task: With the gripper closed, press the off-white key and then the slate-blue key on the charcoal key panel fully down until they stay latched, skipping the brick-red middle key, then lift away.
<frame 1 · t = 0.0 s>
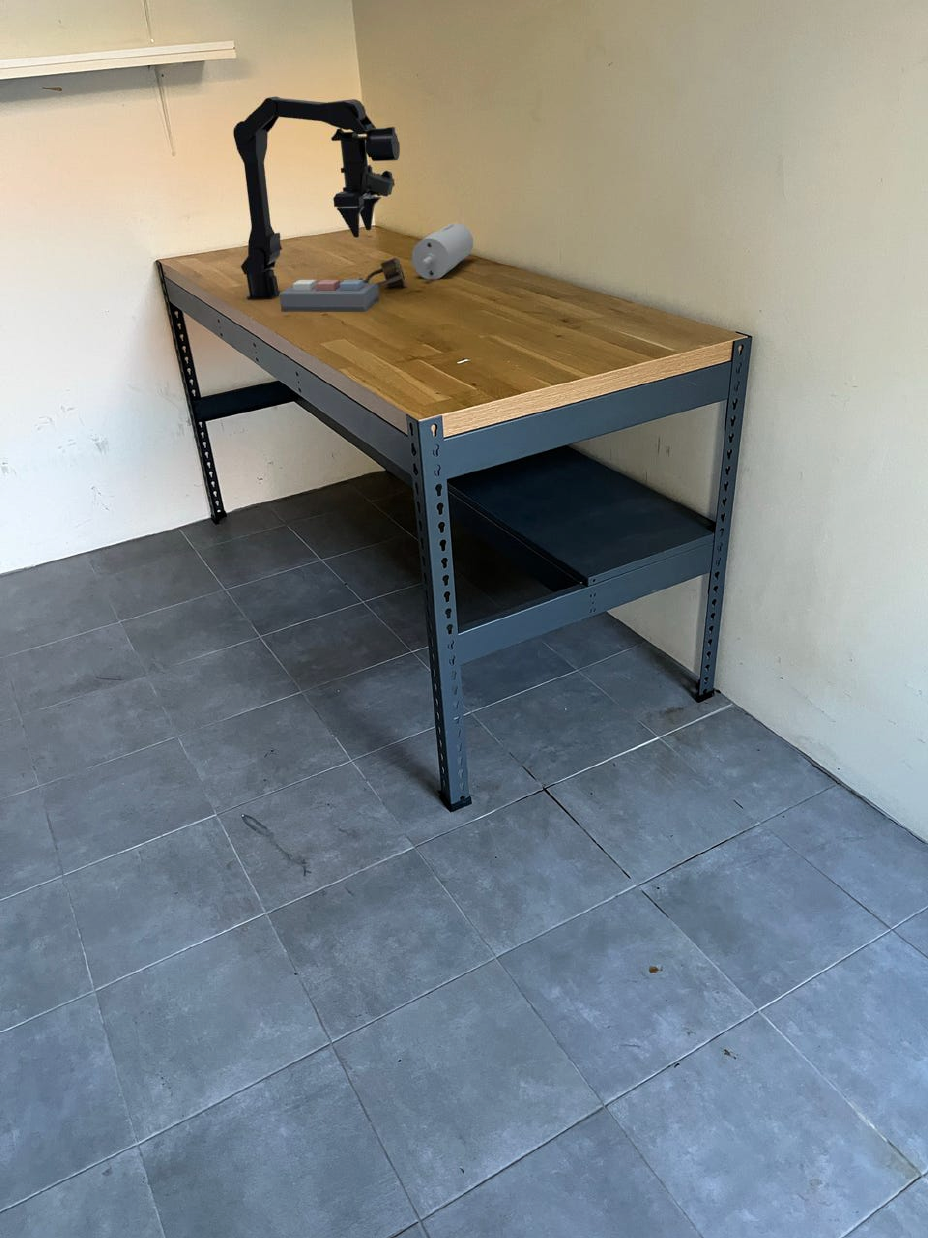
hand: (362, 233, 224), 15 cm above the table, fingers open, 9 cm apart
blue key: (352, 288, 223), point 4 cm above the table, slide at 0.0 cm
red key: (328, 288, 224), point 4 cm above the table, slide at 0.0 cm
white key: (305, 288, 225), point 4 cm above the table, slide at 0.0 cm
motor: (444, 271, 254), on the table
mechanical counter: (383, 288, 240), on the table
key panel: (330, 305, 226), on the table
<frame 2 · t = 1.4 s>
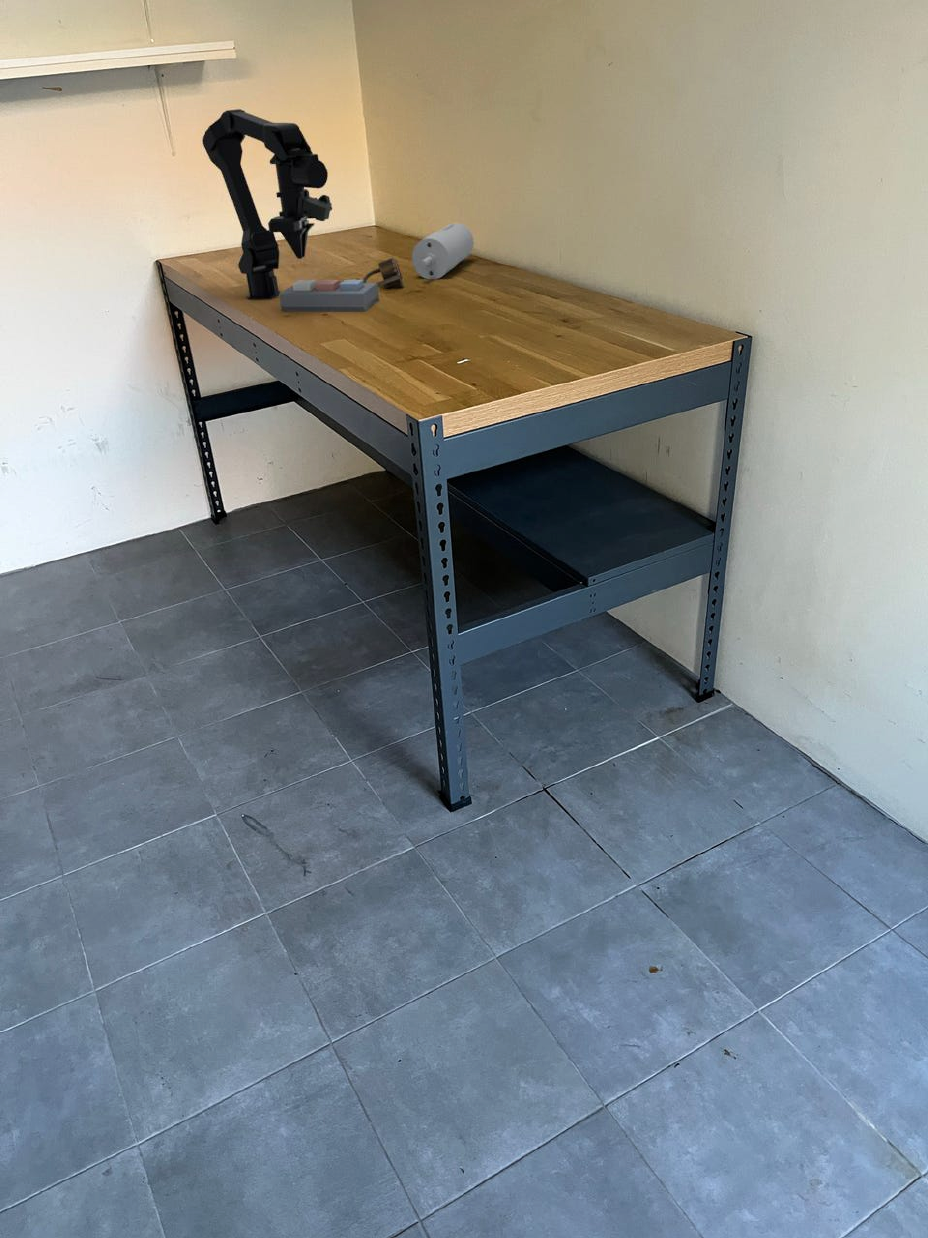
hand: (301, 257, 222), 11 cm above the table, fingers closed
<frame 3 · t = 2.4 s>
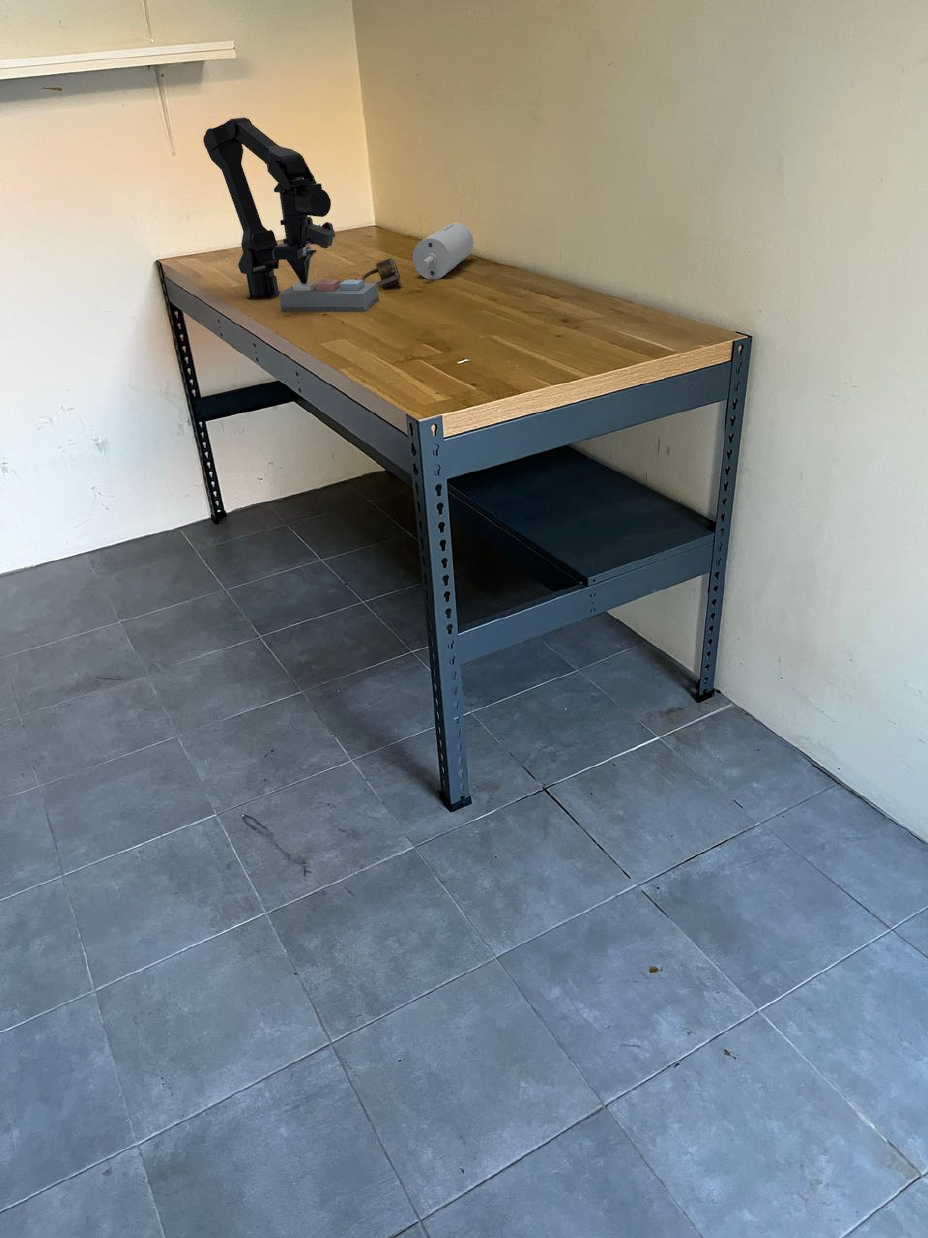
hand: (304, 283, 225), 5 cm above the table, fingers closed, pressing on white key
white key: (305, 289, 226), point 4 cm above the table, slide at 0.4 cm, touching gripper
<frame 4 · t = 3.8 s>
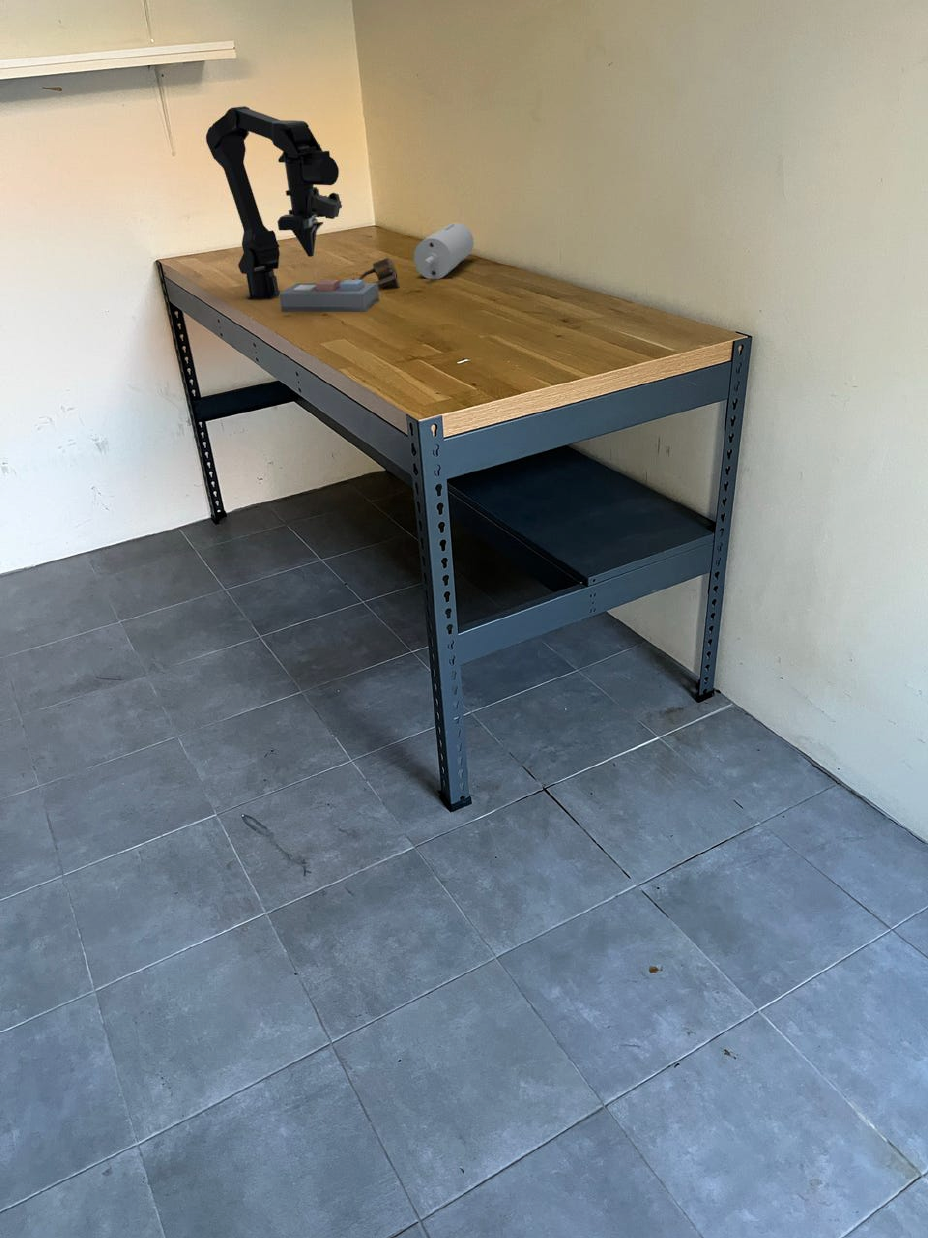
hand: (310, 256, 221), 11 cm above the table, fingers closed
white key: (306, 293, 226), point 3 cm above the table, slide at 1.2 cm
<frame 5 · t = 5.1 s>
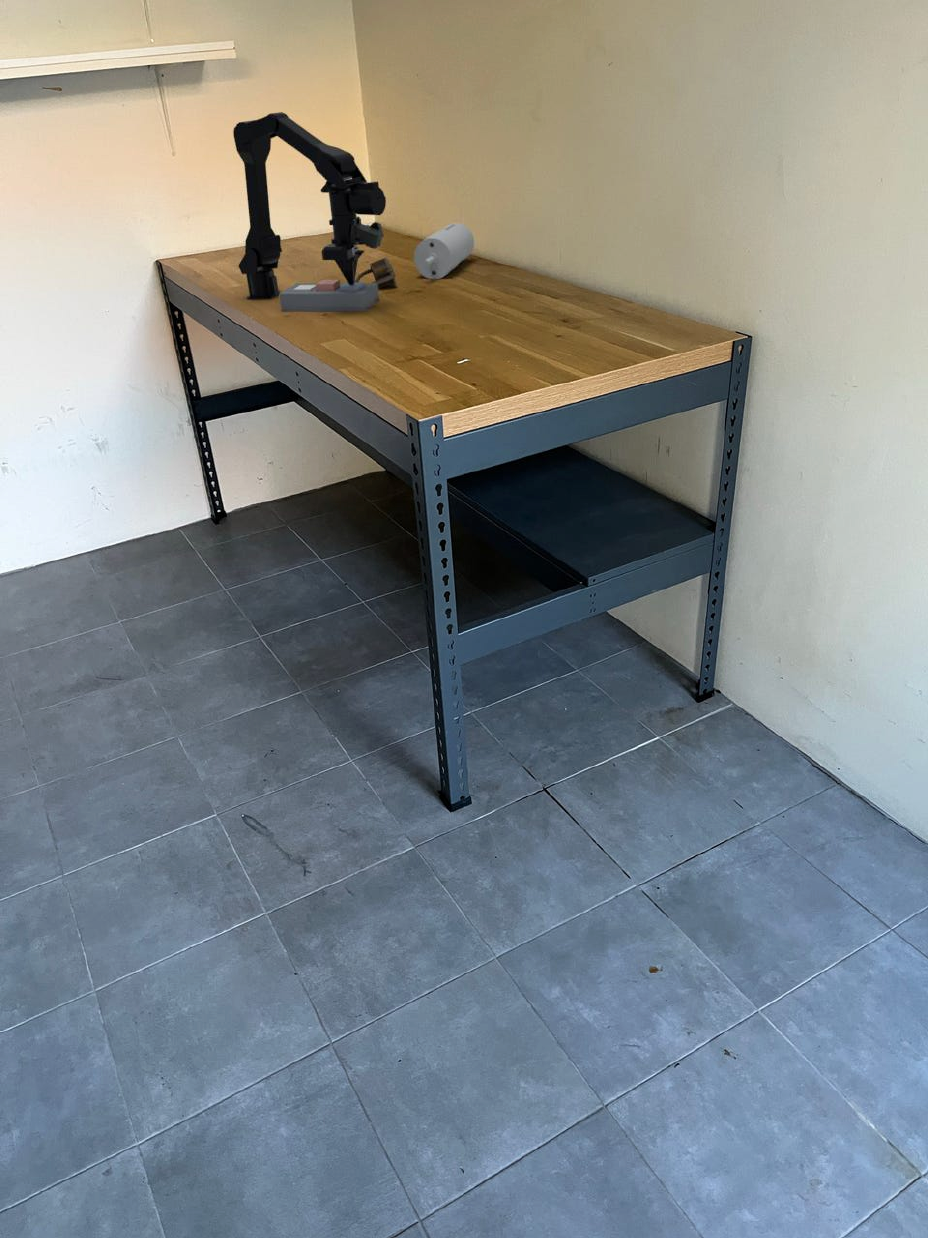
hand: (351, 284, 222), 5 cm above the table, fingers closed, pressing on blue key
blue key: (352, 290, 223), point 3 cm above the table, slide at 0.6 cm, touching gripper
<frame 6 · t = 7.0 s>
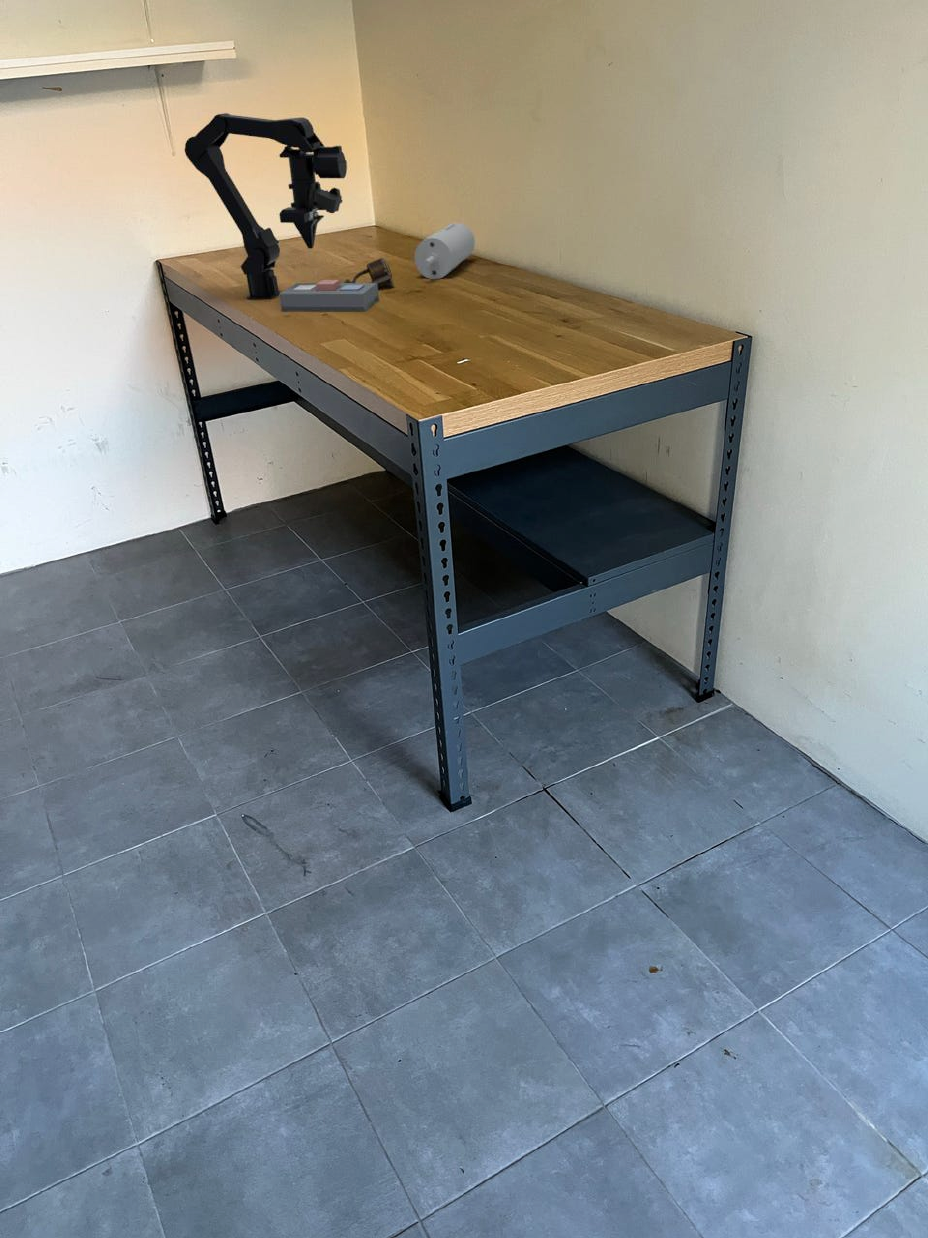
hand: (310, 248, 229), 12 cm above the table, fingers closed
blue key: (352, 293, 223), point 3 cm above the table, slide at 1.2 cm
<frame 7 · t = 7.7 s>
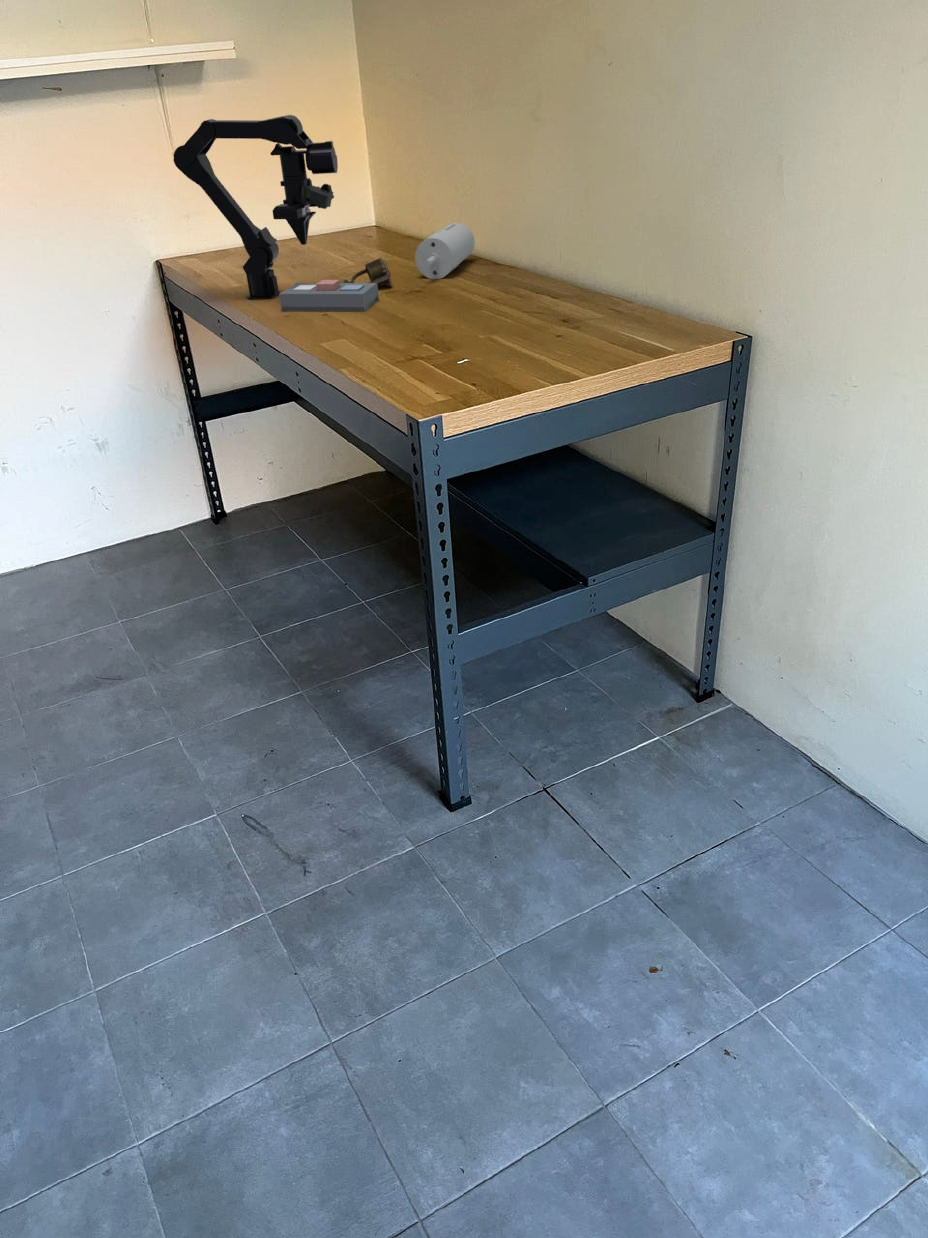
hand: (304, 244, 231), 12 cm above the table, fingers closed
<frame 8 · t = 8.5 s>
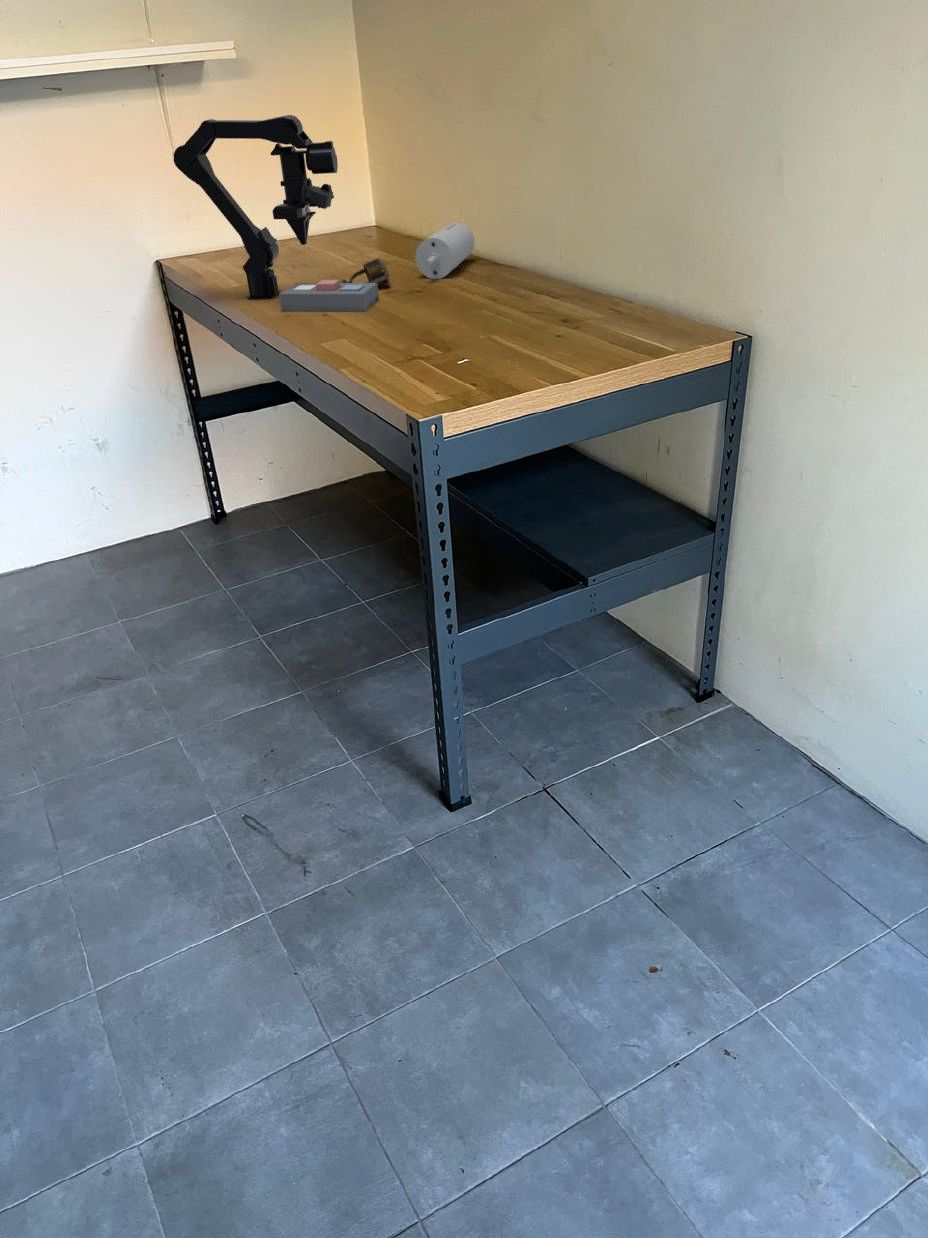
hand: (304, 244, 231), 12 cm above the table, fingers closed
at the end: white key slide at 1.2 cm; blue key slide at 1.2 cm; red key slide at 0.0 cm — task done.
